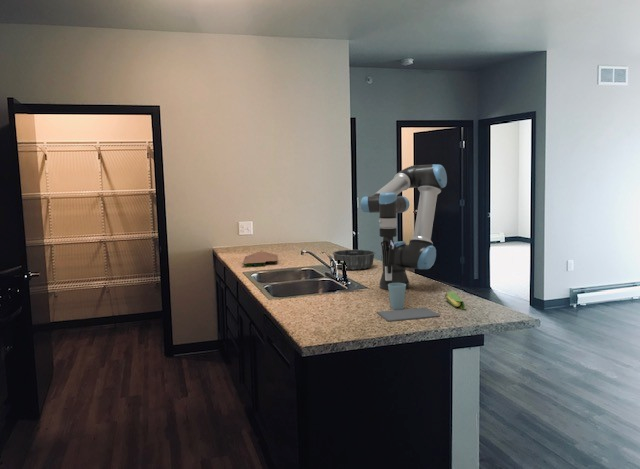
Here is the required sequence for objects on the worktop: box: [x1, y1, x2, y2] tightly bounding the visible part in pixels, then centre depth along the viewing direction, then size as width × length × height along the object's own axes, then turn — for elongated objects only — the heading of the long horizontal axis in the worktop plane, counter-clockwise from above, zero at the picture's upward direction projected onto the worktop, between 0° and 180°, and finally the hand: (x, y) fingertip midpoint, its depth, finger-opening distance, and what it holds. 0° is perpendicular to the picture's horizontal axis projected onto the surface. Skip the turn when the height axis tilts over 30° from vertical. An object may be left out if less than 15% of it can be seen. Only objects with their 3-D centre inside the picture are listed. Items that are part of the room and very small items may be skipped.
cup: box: [388, 283, 407, 310], centre depth 231 cm, size 8×8×10 cm
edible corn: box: [445, 291, 466, 310], centre depth 234 cm, size 5×20×5 cm
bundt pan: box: [332, 249, 376, 271], centre depth 334 cm, size 26×26×10 cm
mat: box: [376, 307, 441, 323], centre depth 220 cm, size 14×22×1 cm, turn 103°
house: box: [242, 251, 279, 267], centre depth 366 cm, size 23×33×8 cm
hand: (388, 280), depth 240 cm, fingers closed
